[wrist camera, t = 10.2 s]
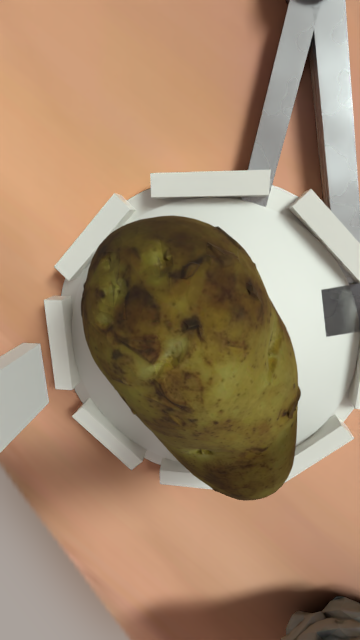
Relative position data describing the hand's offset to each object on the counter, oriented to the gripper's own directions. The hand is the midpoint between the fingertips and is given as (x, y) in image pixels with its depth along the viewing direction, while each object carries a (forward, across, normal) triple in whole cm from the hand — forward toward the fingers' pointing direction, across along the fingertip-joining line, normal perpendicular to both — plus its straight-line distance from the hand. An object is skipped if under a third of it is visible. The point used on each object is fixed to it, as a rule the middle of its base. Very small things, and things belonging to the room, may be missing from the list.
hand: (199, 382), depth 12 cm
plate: (+6, 0, 0) cm, 6 cm away
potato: (+5, 0, 0) cm, 5 cm away
